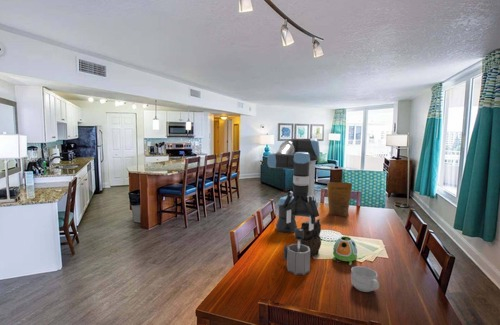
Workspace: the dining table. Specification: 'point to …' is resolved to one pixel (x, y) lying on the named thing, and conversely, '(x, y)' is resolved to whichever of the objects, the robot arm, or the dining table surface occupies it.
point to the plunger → (299, 236)
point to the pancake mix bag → (339, 198)
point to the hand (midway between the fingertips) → (299, 226)
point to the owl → (312, 237)
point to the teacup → (364, 279)
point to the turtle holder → (345, 249)
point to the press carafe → (297, 259)
